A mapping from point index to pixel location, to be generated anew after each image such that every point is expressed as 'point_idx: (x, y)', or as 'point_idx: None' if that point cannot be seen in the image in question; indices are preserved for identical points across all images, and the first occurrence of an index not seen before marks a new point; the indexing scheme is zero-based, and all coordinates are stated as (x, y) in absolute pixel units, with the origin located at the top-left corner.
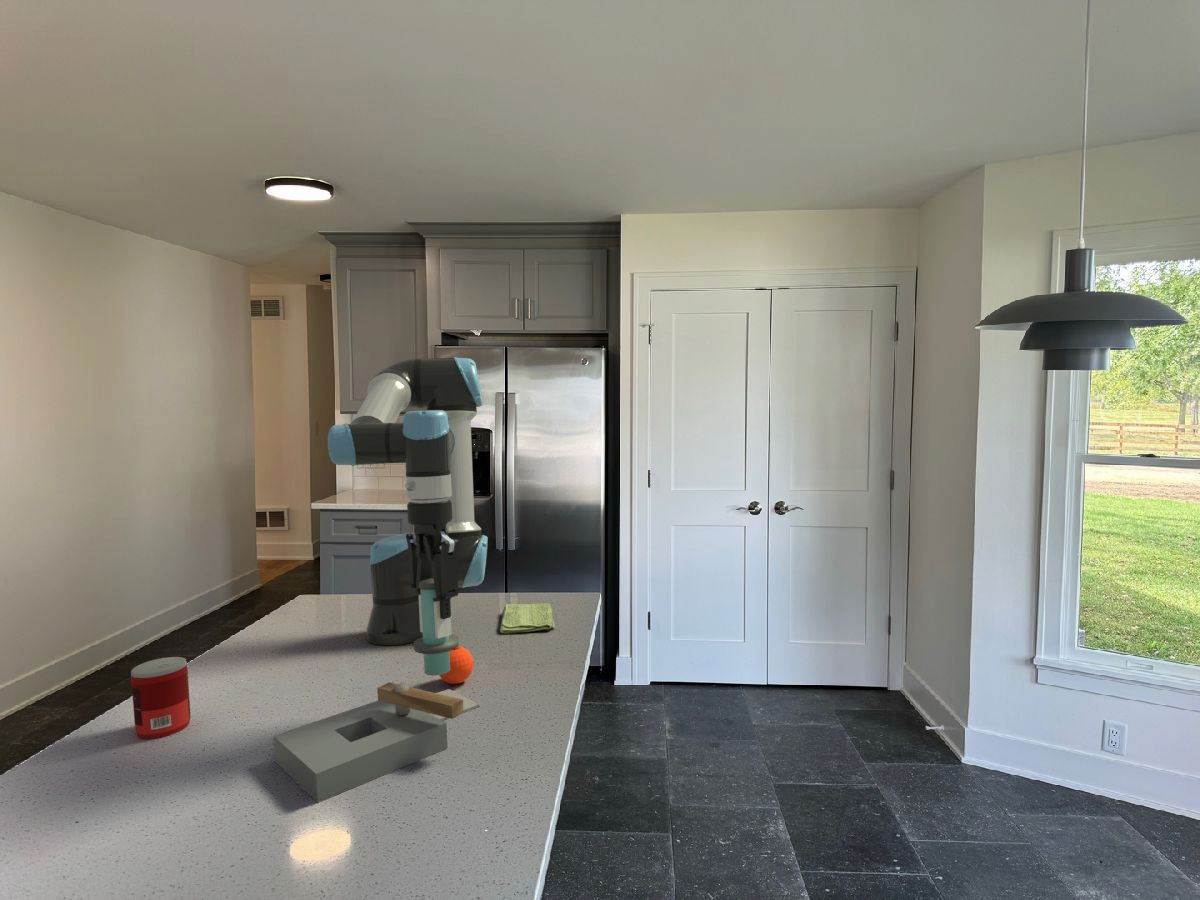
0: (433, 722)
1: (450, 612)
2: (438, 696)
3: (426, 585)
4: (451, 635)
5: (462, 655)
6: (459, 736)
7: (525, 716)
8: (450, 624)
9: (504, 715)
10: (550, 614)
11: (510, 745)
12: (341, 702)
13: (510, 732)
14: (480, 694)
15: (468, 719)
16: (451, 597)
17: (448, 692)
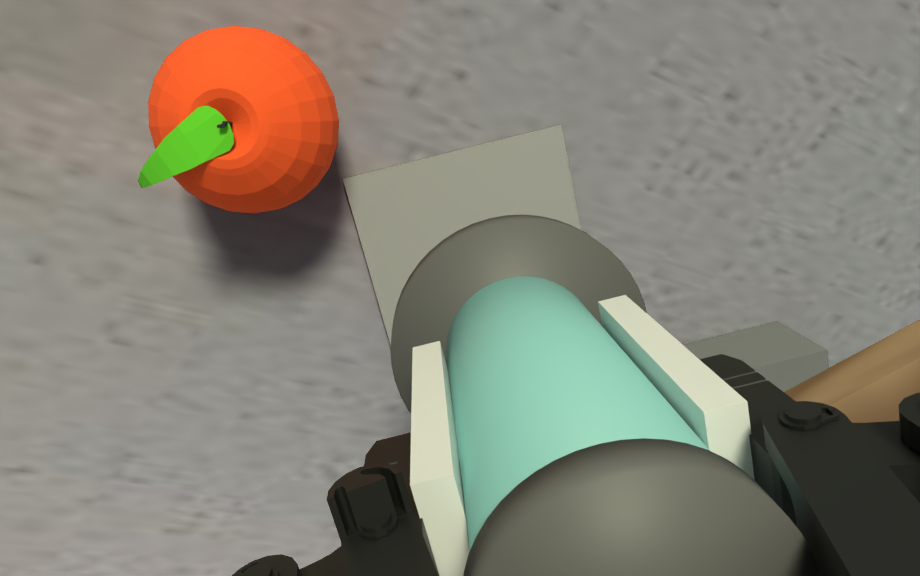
0: (794, 384)
1: (751, 370)
2: (863, 405)
3: None
4: (481, 242)
5: (298, 102)
6: (730, 266)
7: (748, 5)
8: (648, 319)
9: (689, 72)
10: None
11: (894, 148)
12: (234, 526)
13: (819, 110)
14: (451, 77)
15: (634, 199)
16: (870, 427)
17: (380, 192)
